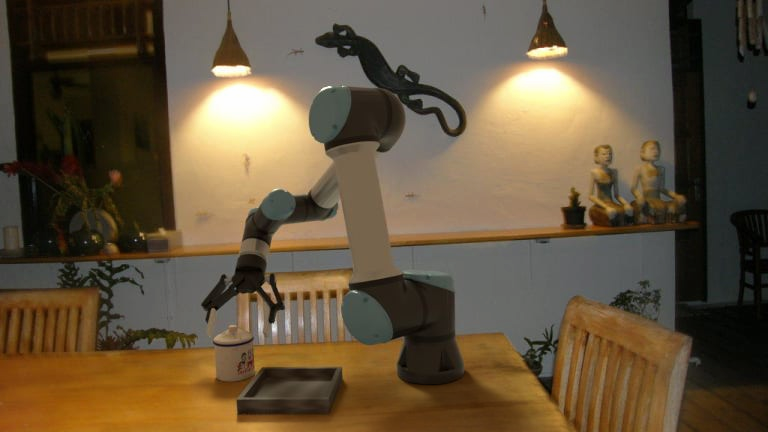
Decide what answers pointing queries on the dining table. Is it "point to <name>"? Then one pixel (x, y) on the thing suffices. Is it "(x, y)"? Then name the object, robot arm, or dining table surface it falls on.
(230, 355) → the teacup with lid
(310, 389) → the tea tray
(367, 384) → the dining table surface
